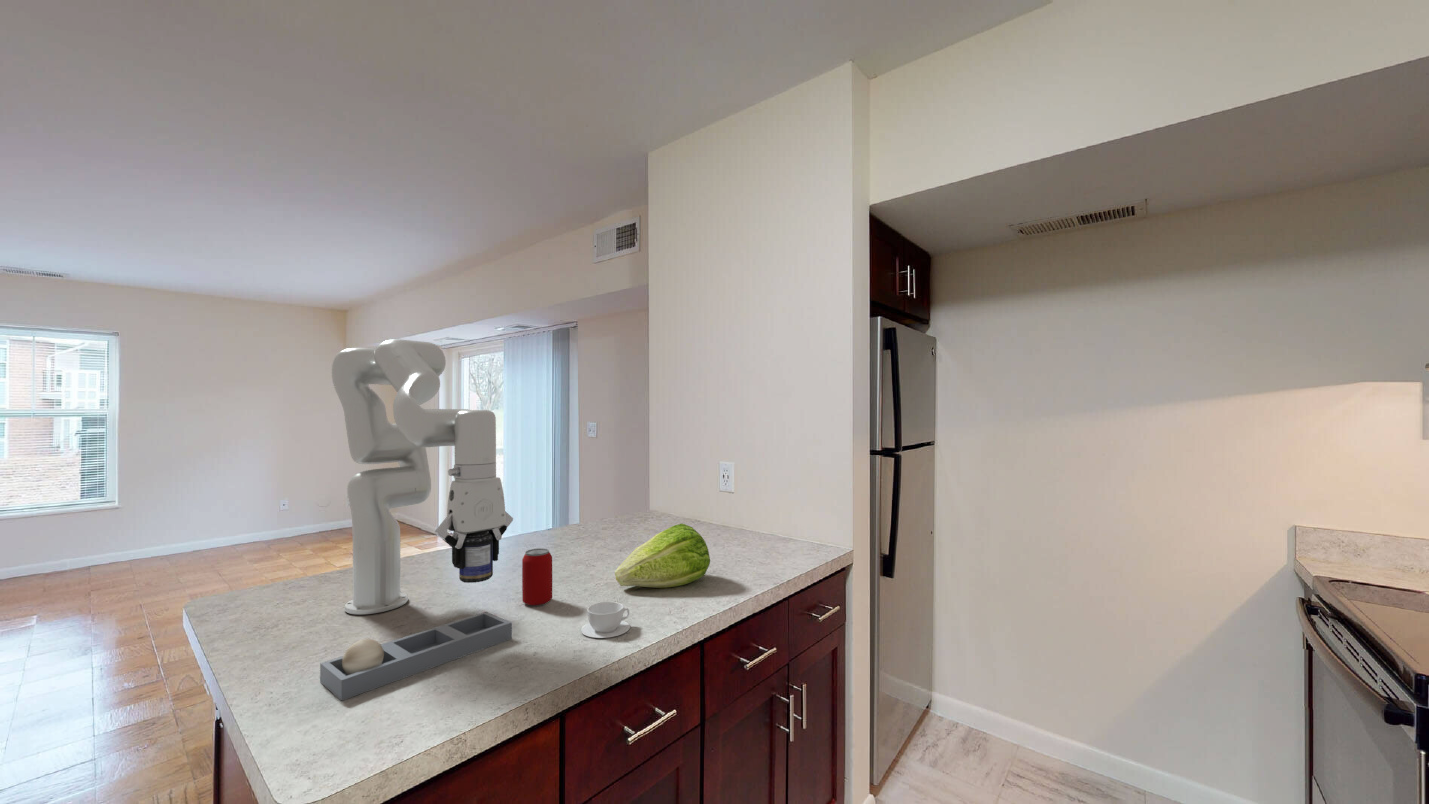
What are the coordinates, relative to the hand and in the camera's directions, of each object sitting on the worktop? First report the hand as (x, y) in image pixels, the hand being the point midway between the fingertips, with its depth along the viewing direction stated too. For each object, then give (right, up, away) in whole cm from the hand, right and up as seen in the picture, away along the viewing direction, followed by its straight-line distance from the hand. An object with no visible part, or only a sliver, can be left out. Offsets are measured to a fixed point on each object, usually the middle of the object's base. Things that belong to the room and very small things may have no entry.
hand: (476, 562), depth 110 cm
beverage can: (+5, -16, +21) cm, 27 cm away
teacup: (+25, -16, +5) cm, 30 cm away
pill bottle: (0, -3, 0) cm, 3 cm away
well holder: (-6, -15, -8) cm, 18 cm away
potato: (-12, -12, -16) cm, 23 cm away
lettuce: (+33, -16, +35) cm, 51 cm away
